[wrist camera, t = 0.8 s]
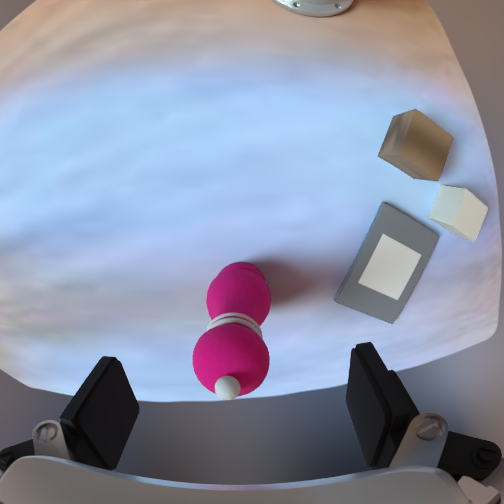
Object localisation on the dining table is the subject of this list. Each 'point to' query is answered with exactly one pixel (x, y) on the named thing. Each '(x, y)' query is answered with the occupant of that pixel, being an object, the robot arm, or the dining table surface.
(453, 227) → the cream block
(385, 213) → the pad
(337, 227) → the dining table surface
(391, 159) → the walnut block
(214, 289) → the pepper mill
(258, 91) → the dining table surface
